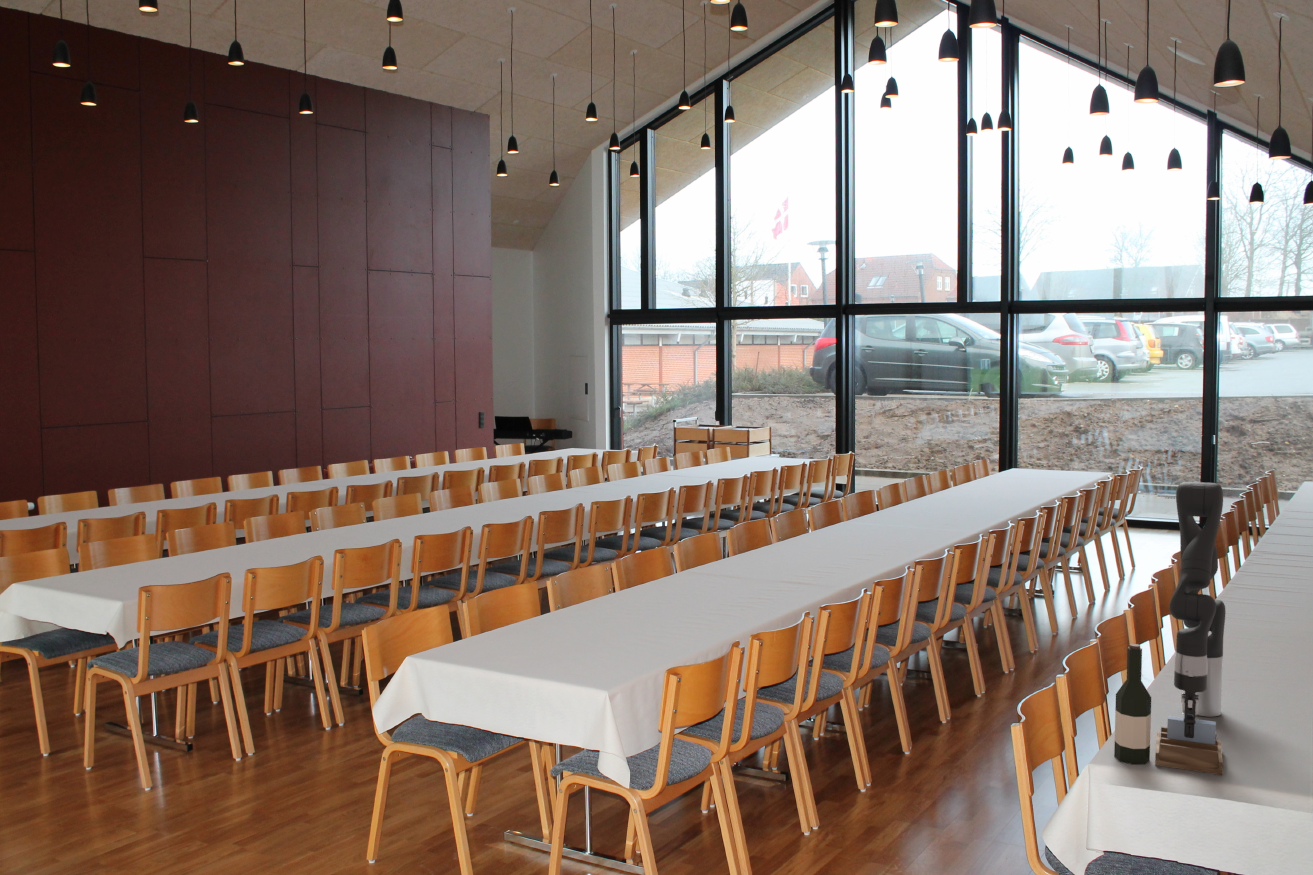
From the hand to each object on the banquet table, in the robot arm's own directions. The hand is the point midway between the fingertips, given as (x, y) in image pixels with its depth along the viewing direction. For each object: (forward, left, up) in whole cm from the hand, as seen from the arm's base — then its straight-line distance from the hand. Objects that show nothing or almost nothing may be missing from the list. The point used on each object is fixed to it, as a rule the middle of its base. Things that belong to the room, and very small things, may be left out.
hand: (1188, 731), depth 270 cm
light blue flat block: (0, 0, -6) cm, 6 cm away
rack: (0, 0, -7) cm, 7 cm away
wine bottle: (+6, -13, -7) cm, 16 cm away
